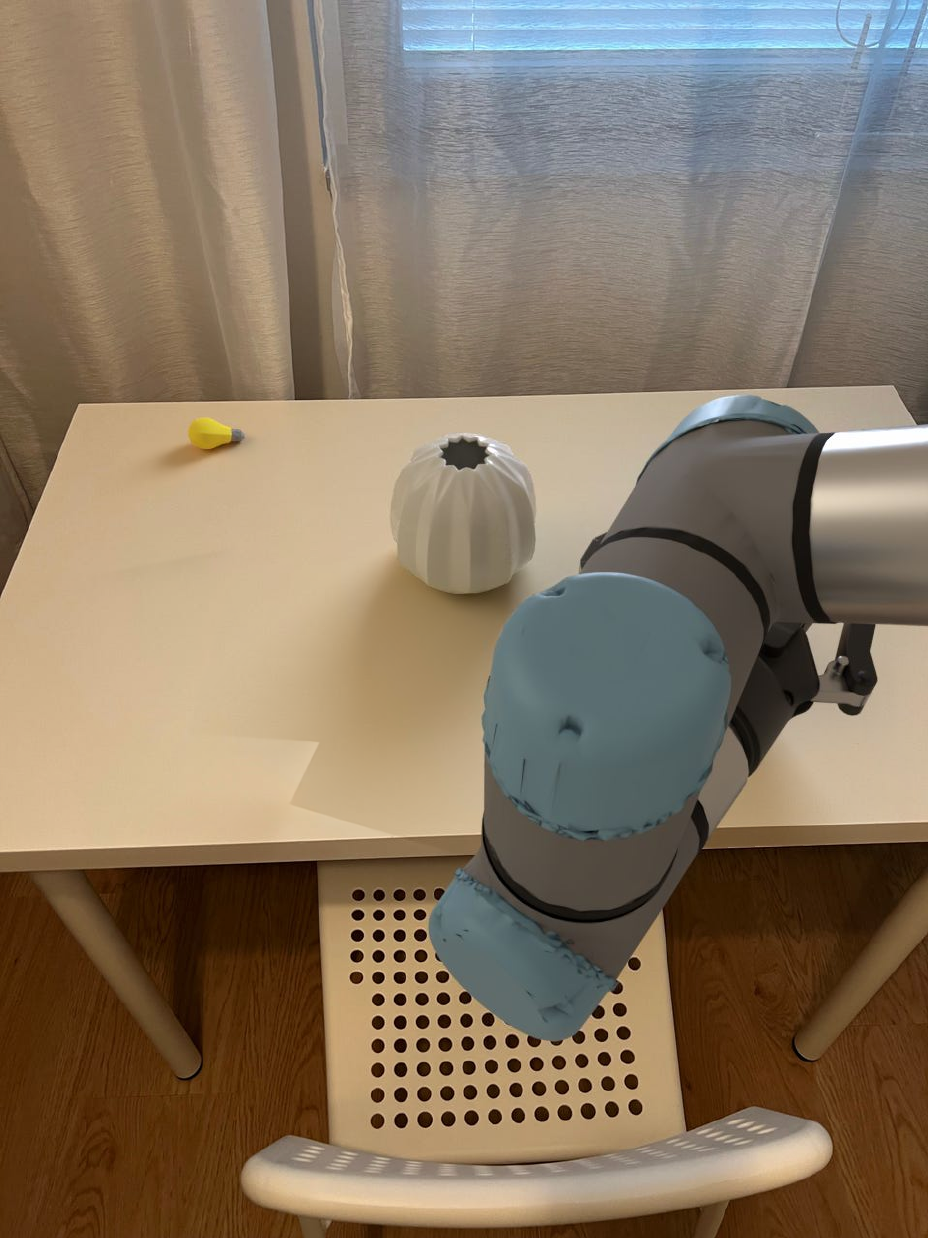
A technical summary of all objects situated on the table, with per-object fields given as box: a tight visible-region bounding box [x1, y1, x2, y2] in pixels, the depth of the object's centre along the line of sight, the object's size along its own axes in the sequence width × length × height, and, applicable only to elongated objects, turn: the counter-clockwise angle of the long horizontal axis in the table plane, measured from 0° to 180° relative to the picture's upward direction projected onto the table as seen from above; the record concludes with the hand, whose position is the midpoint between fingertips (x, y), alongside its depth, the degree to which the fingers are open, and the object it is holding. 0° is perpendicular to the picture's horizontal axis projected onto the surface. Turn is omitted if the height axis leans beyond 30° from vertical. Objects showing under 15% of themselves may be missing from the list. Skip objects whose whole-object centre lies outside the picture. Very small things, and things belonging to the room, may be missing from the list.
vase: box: [389, 432, 537, 595], centre depth 87 cm, size 14×14×13 cm
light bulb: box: [187, 416, 246, 450], centre depth 103 cm, size 3×6×4 cm, turn 106°
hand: (871, 479), depth 57 cm, fingers closed
